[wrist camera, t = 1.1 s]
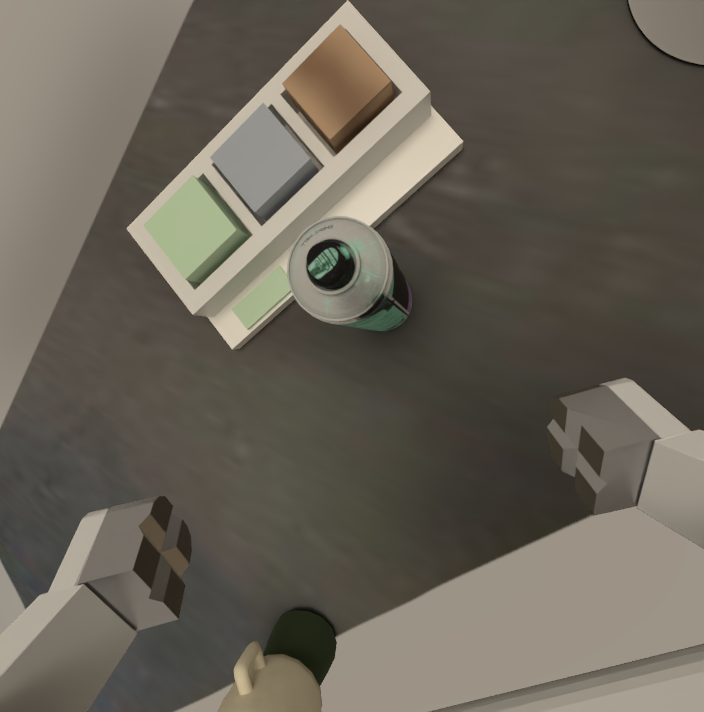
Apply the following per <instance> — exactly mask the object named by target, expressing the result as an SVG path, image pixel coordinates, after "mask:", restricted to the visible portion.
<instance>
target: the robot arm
mask: <svg viewBox="0 0 704 712" xmlns="http://www.w3.org/2000/svg"><path fill="white" fill-rule="evenodd" d="M628 2H629V6H630V9H631V12H632V15H633V17H634V19H635V21H636V23H637V25H638V26H639V28H640V29H641V31H642V32H643V33H644V35H645V36H646V37H647V38H648V39H649V40H650V41H651V42H652V43H653V44H655V45H656V46H657V47H658V48H660V49H661V50H663V51H664V52H666V53H668V54H670V55H672V56H674V57H676V58H678V59H681V60H684V61H688V62H691V63H696V64H702V65H704V0H628ZM548 412H549V413H550V415H551V416H552V417H553V420H552V422H551V423H550V424H549V425H548V427H547V441H548V445H549V449H550V452H551V454H552V456H553V458H554V460H555V462H556V463H557V465H558V466H559V468H560V469H561V471H563V472H565V473H567V474H569V475H571V476H573V477H575V480H574V489H575V491H576V492H577V493H578V495H579V496H580V498H581V499H582V500H583V502H584V503H585V505H586V506H587V507H588V509H589V510H590V512H591V513H592V514H593V516H594V515H598V514H603V513H607V512H612V511H615V510H621V509H625V508H630V507H634V506H637V509H639V510H641V511H642V512H644V513H646V514H647V515H649V516H651V517H652V518H654V519H656V520H657V521H659V522H661V523H662V524H664V525H665V526H667V527H669V528H670V529H672V530H674V531H675V532H677V533H679V534H680V535H682V536H684V537H685V538H687V539H688V540H690V541H692V542H693V543H695V544H697V545H698V546H700V547H702V548H703V549H704V431H702V430H695V431H690V430H689V429H688V428H687V427H686V426H685V425H683V424H682V423H681V422H680V421H679V420H678V419H676V418H675V417H674V416H673V415H672V414H671V413H669V412H668V411H667V410H666V409H665V408H664V407H663V406H661V405H660V404H659V403H658V402H657V401H656V400H654V399H653V398H652V397H651V396H650V395H649V394H648V393H646V392H645V391H644V390H643V389H642V388H641V387H639V386H638V385H637V384H636V383H635V382H634V381H632V380H630V379H627V378H622V379H618V380H614V381H611V382H607V383H603V384H600V385H595V386H591V387H588V388H584V389H580V390H576V391H572V392H568V393H565V394H561V395H557V396H553V397H551V399H550V401H549V405H548ZM172 508H173V505H172V504H171V503H170V502H169V500H168V499H167V498H166V497H165V496H158V497H154V498H150V499H145V500H141V501H136V502H132V503H127V504H123V505H119V506H114V507H112V508H107V509H103V510H98V511H94V512H90V513H88V514H87V515H86V516H85V517H84V518H83V519H82V520H81V522H80V524H79V527H78V529H77V531H76V533H75V535H74V537H73V540H72V542H71V544H70V546H69V548H68V550H67V553H66V555H65V557H64V559H63V561H62V563H61V566H60V568H59V570H58V572H57V574H56V576H55V579H54V581H53V583H52V585H51V587H50V589H49V592H48V593H45V594H42V595H39V596H38V597H37V599H36V600H35V601H34V602H33V603H32V604H31V605H30V606H29V607H28V608H27V609H26V610H25V611H24V612H23V613H22V614H21V615H20V616H19V617H18V618H17V619H16V620H15V621H14V622H13V623H12V624H11V625H10V626H9V627H8V628H7V629H6V630H5V631H4V632H3V633H2V634H1V635H0V712H87V711H88V709H89V708H90V706H91V705H92V703H93V702H94V700H95V698H96V697H97V695H98V694H99V692H100V691H101V689H102V687H103V686H104V684H105V683H106V681H107V680H108V678H109V677H110V675H111V673H112V672H113V670H114V669H115V667H116V666H117V664H118V663H119V661H120V659H121V658H122V656H123V655H124V653H125V652H126V650H127V648H128V647H129V645H130V644H131V642H132V641H133V639H134V638H135V636H136V634H137V632H136V631H138V630H142V629H145V628H149V627H152V626H156V625H159V624H163V623H167V622H170V621H174V620H177V619H179V615H180V610H181V605H182V599H183V594H184V589H185V584H184V582H183V580H182V579H181V577H180V576H181V574H182V573H183V572H184V570H185V569H186V568H187V566H188V565H189V564H190V558H191V552H192V546H191V535H190V532H189V530H188V527H187V525H186V524H185V522H184V521H183V519H181V518H179V517H176V516H174V515H171V512H172ZM430 712H704V644H701V645H697V646H693V647H689V648H685V649H681V650H677V651H673V652H669V653H665V654H661V655H657V656H652V657H649V658H644V659H640V660H636V661H632V662H628V663H624V664H620V665H616V666H612V667H608V668H604V669H600V670H596V671H592V672H588V673H584V674H580V675H576V676H571V677H568V678H563V679H559V680H555V681H551V682H547V683H543V684H539V685H535V686H531V687H527V688H523V689H519V690H515V691H511V692H507V693H503V694H499V695H495V696H490V697H486V698H482V699H479V700H474V701H470V702H466V703H462V704H458V705H454V706H450V707H446V708H442V709H438V710H434V711H430Z"/></svg>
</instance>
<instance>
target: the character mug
mask: <svg viewBox="0 0 704 712" xmlns="http://www.w3.org/2000/svg"><path fill="white" fill-rule="evenodd" d="M336 644H337V643H336V639H335V636H334V633H333V629H332V628H331V626H330V625H329V624H328V623H327V622H326V621H325V620H324V619H323V618H322V617H321V616H318V615H316V614H314V613H311V612H309V611H297V610H293V611H291V612H288V613H285V614H283V615H282V616H281V617H280V619H279V620H278V622H277V623H276V625H275V626H274V629H273V631H272V633H271V636H270V638H269V640H268V643H267V646H266V648H265V651H264V654H263V652H262V649H261V646H260V644H259V643H258V642H257V641H255V640H254V641H253V642H251V643H250V644H249V645H248V646H247V647H246V649H245V650H244V652H243V654H242V655H241V657H240V658H239V660H238V661H237V663H236V665H235V668H234V678H235V683H234V684H233V686H232V688H231V690H230V691H229V693H228V694H227V695H226V697H225V698H224V700H223V702H222V704H221V706H220V708H219V710H218V712H321V707H322V701H321V690H320V685H321V683H322V682H323V680H324V678H325V676H326V674H327V673H328V670H329V668H330V666H331V664H332V662H333V660H334V658H335V651H336Z"/></svg>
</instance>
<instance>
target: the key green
mask: <svg viewBox="0 0 704 712" xmlns="http://www.w3.org/2000/svg"><path fill="white" fill-rule="evenodd" d="M143 226H144V227H145V228H146V230H147V231H148V232H149V234H150V235H151V236H152V237H153V239H154V240H155V241H156V243H157V244H158V245H159V246H160V248H161V249H162V250H163V252H164V253H165V254H166V255H167V257H168V258H169V259H170V261H171V262H172V263H173V265H174V266H175V267H176V268H177V270H178V271H179V272H180V274H181V275H182V276H183V277H184V279H185V280H189V281H193V282H197V283H201V284H202V283H203V282H204V281H205V280H206V279H207V278H208V277H209V276H210V275H211V274H212V273H213V272H214V271H215V270H216V269H218V268H219V267H220V266H221V265H222V264H223V263H224V262H225V261H226V260H227V259H228V258H229V257H230V256H231V255H232V254H233V253H234V252H235V251H236V250H237V249H238V248H240V247H241V246H242V245H243V244H244V243H245V242H246V241H247V240H248V239H249V238H250V237H251V236H252V235H251V234H250V233H249V232H248V230H247V229H246V228H245V227H244V225H243V224H242V223H241V222H240V221H239V219H238V218H237V217H236V216H235V214H234V213H233V212H232V211H231V209H230V208H229V207H228V206H227V204H226V203H225V202H224V201H223V199H222V198H221V197H220V196H219V194H218V193H217V192H216V191H215V190H214V189H213V188H211V187H210V186H208V185H207V184H205V183H204V182H202V181H201V180H200V179H198V178H197V177H195V176H194V175H192V176H191V177H190V178H189V179H188V180H187V181H186V182H185V183H184V184H183V185H182V186H181V187H180V188H179V189H178V190H177V191H176V192H175V193H174V194H173V195H172V196H171V197H170V199H169V200H168V201H167V202H166V203H165V204H164V205H163V206H162V207H161V208H160V209H159V210H158V211H157V212H156V213H155V214H154V215H153V216H152V217H151V218H150V219H149V220H148V221H147V222H146V223H145V224H144V225H143Z"/></svg>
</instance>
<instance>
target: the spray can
mask: <svg viewBox="0 0 704 712" xmlns="http://www.w3.org/2000/svg"><path fill="white" fill-rule="evenodd" d="M287 277H288V283H289V287H290V290H291V292H292V294H293V296H294V298H295V300H296V301H297V302H298V303H299V305H300V306H301V307H302V308H303V309H304V310H306V311H307V312H308V313H309V314H311V315H312V316H313V317H315V318H317V319H319V320H321V321H324V322H328V323H331V324H337V325H343V326H349V327H355V328H362V329H368V330H374V331H388V330H391V329H394V328H396V327H398V326H400V325H401V324H402V323H403V322H404V321H405V320H406V319H407V317H408V315H409V313H410V311H411V308H412V301H413V299H412V292H411V289H410V287H409V285H408V283H407V281H406V279H405V278H404V276H403V274H402V272H401V270H400V269H399V267H398V265H397V263H396V261H395V259H394V258H393V256H392V254H391V252H390V250H389V249H388V247H387V245H386V243H385V241H384V240H383V238H382V237H381V236H380V235H379V234H378V233H377V232H376V231H375V230H374V229H373V228H371V227H370V226H369V225H367V224H365V223H364V222H361V221H359V220H357V219H355V218H350V217H346V216H334V217H328V218H324V219H322V220H319V221H317V222H315V223H313V224H312V225H310V226H309V227H307V228H306V229H305V230H304V231H303V232H302V233H301V234H300V235H299V237H298V238H297V240H296V241H295V242H294V245H293V247H292V249H291V251H290V254H289V258H288V262H287Z"/></svg>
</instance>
